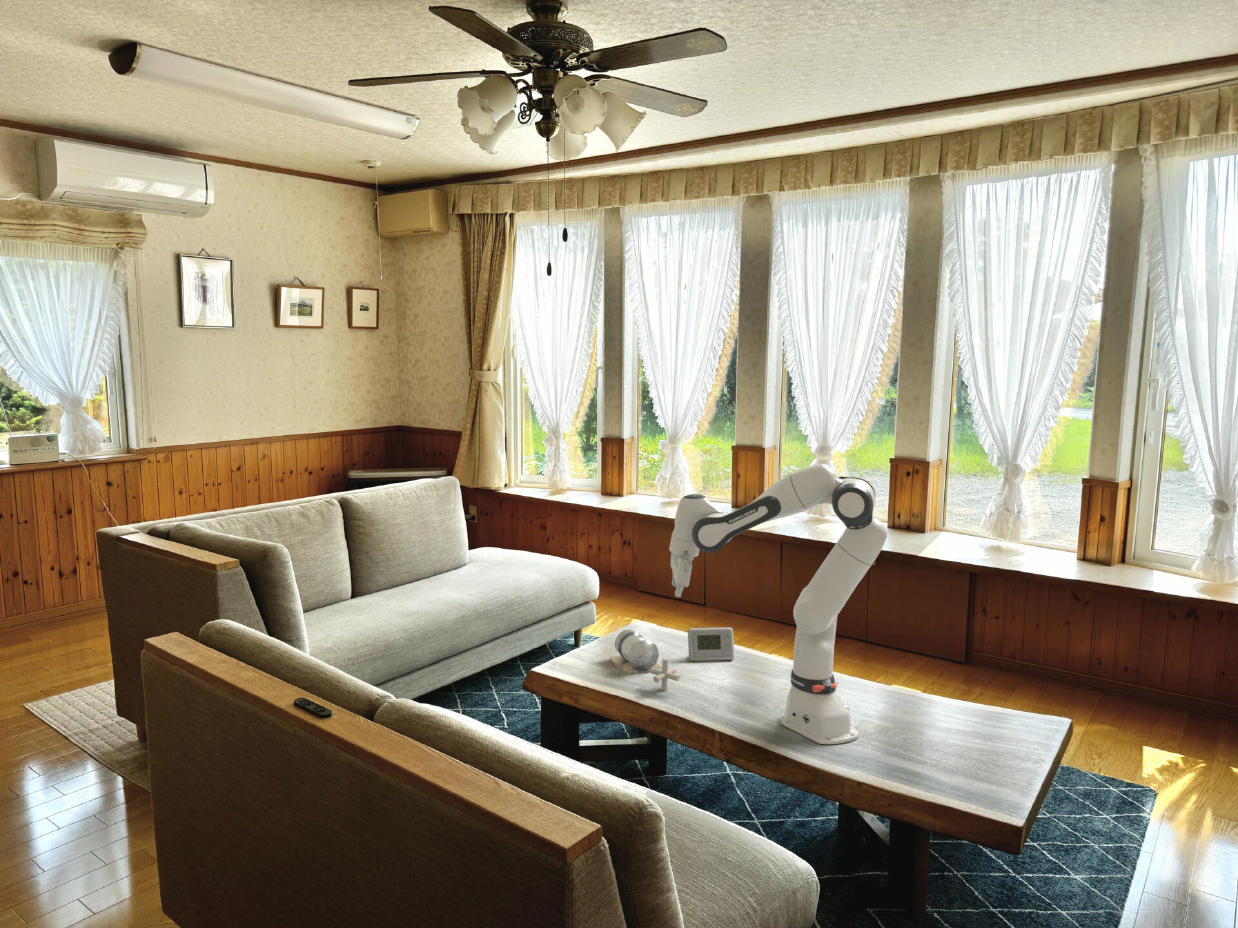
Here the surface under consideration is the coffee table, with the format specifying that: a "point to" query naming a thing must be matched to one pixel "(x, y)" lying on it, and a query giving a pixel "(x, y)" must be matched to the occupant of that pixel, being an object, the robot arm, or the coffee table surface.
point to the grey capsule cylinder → (635, 653)
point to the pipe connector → (664, 674)
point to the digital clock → (710, 644)
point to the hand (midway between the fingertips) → (676, 590)
